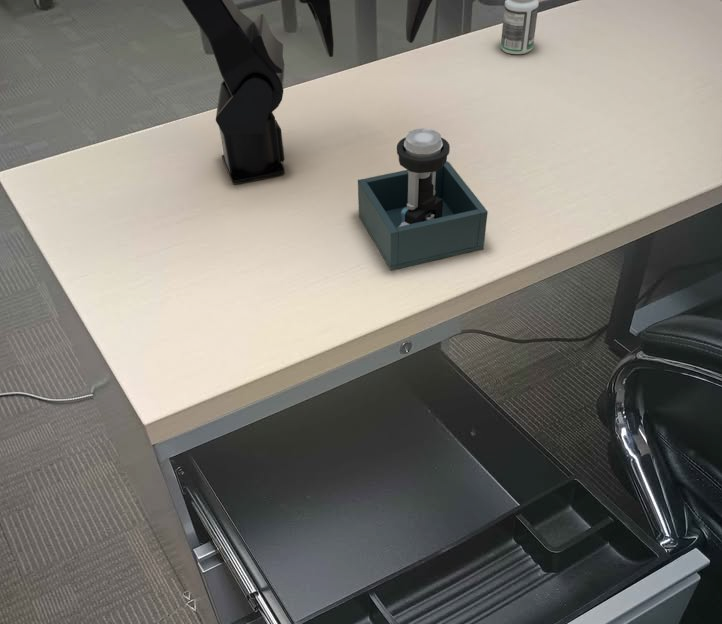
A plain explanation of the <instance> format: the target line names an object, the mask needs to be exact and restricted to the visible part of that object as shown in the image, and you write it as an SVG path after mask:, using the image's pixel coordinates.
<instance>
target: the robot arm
mask: <svg viewBox="0 0 722 624" xmlns="http://www.w3.org/2000/svg"><path fill="white" fill-rule="evenodd" d="M181 1H182V3H183V4H184V6H185V7H186V9H187V10H188V12H189V13H190V15H191V16H192V18H193V19H194V21H195V22H196V24H197V25H198V26H199V28H200V29H201V31H202V33H203V34H204V35H205V37H206V38H207V40H208V42H209V45H210V46H211V50H212V52H213V55H214V58H215V61H216V64H217V67H218V69H219V73H220V75H221V77H222V80H223V81H221V83H220V86H219V87H220V88H219V94H218V99H217V100H218V102H217V108H216V114H215V122H216V124H217V125H218V130H219V136H220V141H221V145H222V151H223V152H222V153H223V154H222V155H221V159H222V162H223V165H224V167H225V169H226V171H227V174H228V176H229V178H230V181H231V183H232V184H234V185H237V184H243V183H248V182H252V181H257V180H261V179H267V178H273V177H278V176H281V175H284V174H285V173H286V172H285V167H284V165H283V163H284V161H285V151H284V141H283V132H282V128H281V127H280V125H279V123H278V121H277V119H276V116H275V115H274V111H275V110H276V109H277V108H278V107H279V106H280V104H281V102H282V100H283V96H284V87H285V84H284V83H285V60H284V44H283V43H282V42H281V41H279V39H277V38H276V36H275V35H274V34H273V32H272V30H271V28H270V26H269V23H268V21H267V18H266V17H265V15H264V13H260V14H259V16H258V17H257V18H256V19H255V20H254V21H253V20H252V19H251V18H249V17H248V16H247V15H246V14H245V13H243V12H242V11H241V10H240V9H239V8H238V7H237V5H236V3H235V2H234V0H181ZM298 1H299V3H301V4H307V6H308V8H309V10H310V12H311V15H312V17H313V20H314V22H315V25H316V27H317V30H318V33H319V36H320V39H321V41H322V44H323V47H324V49H325V53H326V54H327V56H328V57H329V58H333V57H334V49H335V48H334V46H335V45H334V44H335V43H334V32H333V31H334V30H333V22H332V10H331V0H298ZM432 2H433V0H407V2H406V15H405V16H406V17H405V35H406V36H405V37H406V41H407V42H408V43H409V44H413V43H414V41H415V39H416V37H417V35H418V32H419V30H420V28H421V25H422V23H423V22H424V19H425V17H426V14H427V12H428V10H429V8H430V5H431V4H432Z"/></svg>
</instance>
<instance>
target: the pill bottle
mask: <svg viewBox="0 0 722 624" xmlns="http://www.w3.org/2000/svg"><path fill="white" fill-rule="evenodd" d="M539 2H540V1H539V0H505V1H504V6H503V7H504V9H503V20H502V29H501V39H500V48H501V50H502V51H503V52H505V53H507V54H511V55H523V54H528V53H529V52H531V51H532V50H533V48H534V44H535V43H534V42H535V36H536V27H537V18H538V13H539V12H538V11H539Z"/></svg>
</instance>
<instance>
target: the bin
mask: <svg viewBox="0 0 722 624" xmlns="http://www.w3.org/2000/svg"><path fill="white" fill-rule="evenodd" d="M435 191H436V193H435V195H434V196H436V197H438V198H441V199H443V211H442V217H441V218H436V219H432V220H427V221H423V222H418V223H413V224H409V225H404V226H400V224H401V211H402V210H403V209H404V208H406V207H407V193H408V170H407V169H403V170H399V171H394V172H390V173H385V174H380V175H375V176H370V177H366V178H360V179H358V180H357V195H358V197H357V199H358V202H357V203H358V218H359V219H360V221H361V223H362V224H363V226H364V227H365V229H366V231H367V233H368V235H369V236H370V237H371V239H372V241H373V243H374V245H375V247H376V248H377V249H378V252H379V253H380V254H381V256H382V258H383V259H384V261H385V263H386V265H387V266H388V268H389V270H390V271H393V270H399V269H404V268H407V267H411V266H415V265H419V264H424V263H428V262H432V261H438V260H441V259H446V258H450V257H455V256H458V255H463V254H467V253H472V252H476V251H481V250H484V248H485V240H486V239H485V238H486V230H487V222H488V214H489V213H488V212H489V211H488V210H487V209H486V207H485V206H484V204H483V203H482V202H481V201H480V200H479V198H478V197H477V196H476V195H475V193H474V192H473V191H472V189H471V188H470V187H469V186H468V185H467V183H466V182H465V181H464V180H463V178H462V177H461V176H460V174H459V173H458V172H457V171H456V169H455V168H454V167H453V166H452V164H451V163H450V162H449V161H448V160H447V161H446V163H445V164H444V166H443V167H442V168H441V169H440V170H437V171H436V176H435ZM399 226H400V227H399Z"/></svg>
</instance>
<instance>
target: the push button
mask: <svg viewBox="0 0 722 624" xmlns="http://www.w3.org/2000/svg"><path fill="white" fill-rule="evenodd" d="M450 149H451V146H450V143H449V142H448V141H447V140H446V139H445V138H443V137H442V135H441V133H440V132H438V131H437V130H435V129H432V128H426V127H425V128H416V129H413V130H409V131H408V133H407V134H406V135H405V137H403V138H401V139H400V140H399V141H398V143H397V144H396V153H397V156H398V163H399V165H400V166H401V167H402V168H404V170H408V193H407V207H406V208H404V209H403V210H402V211H401V224H400V226H404V225H409V224H413V223H418V222H423V221H427V220H432V219H436V218H441V217H442V211H443V199H441V198H438V197H436V196H434V195H435V193H436V191H435V176H436V171H437V170H440V169H441V168H442V167H443V166H444V164H445V163H446V161H448V156H449V154H450ZM400 226H399V227H400Z"/></svg>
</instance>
